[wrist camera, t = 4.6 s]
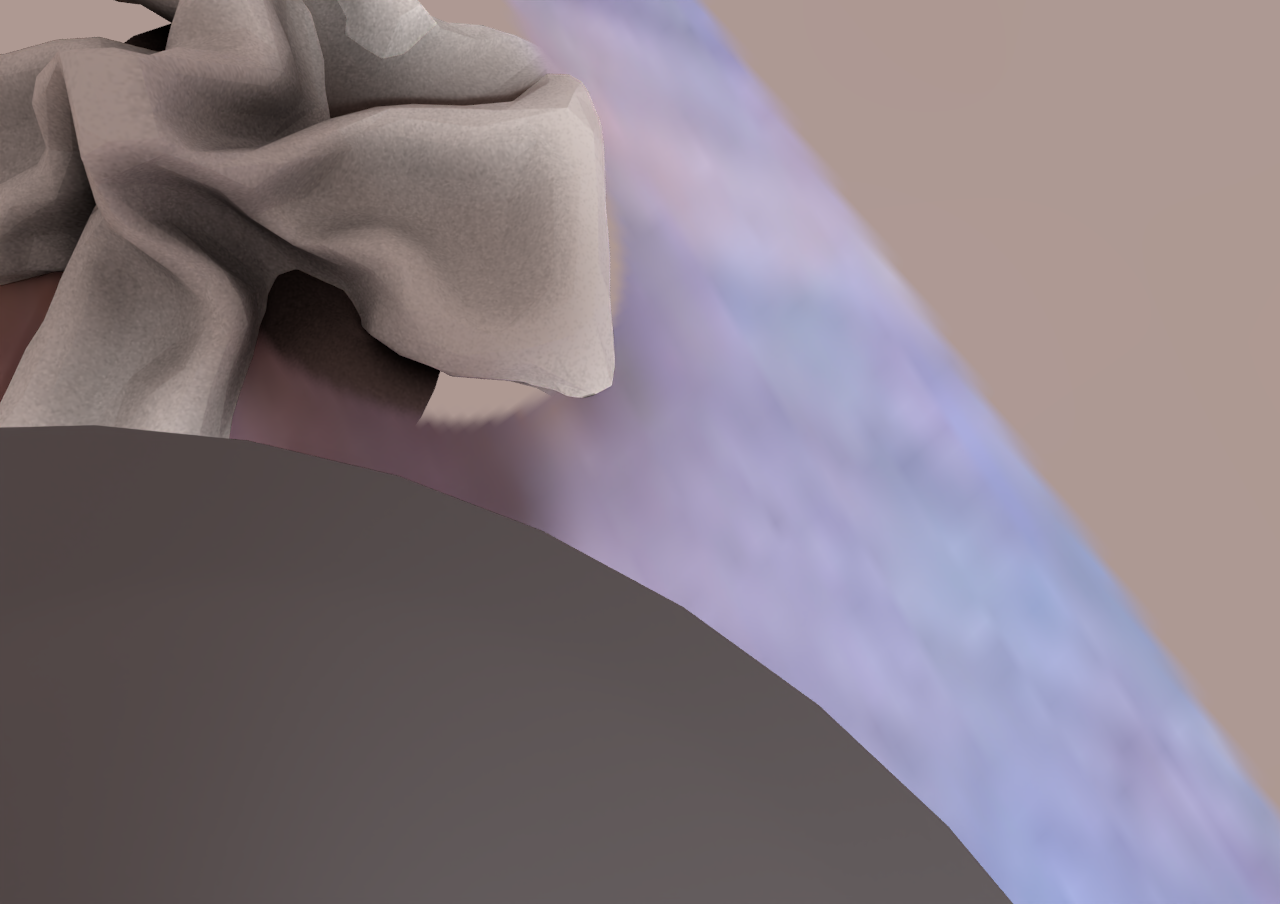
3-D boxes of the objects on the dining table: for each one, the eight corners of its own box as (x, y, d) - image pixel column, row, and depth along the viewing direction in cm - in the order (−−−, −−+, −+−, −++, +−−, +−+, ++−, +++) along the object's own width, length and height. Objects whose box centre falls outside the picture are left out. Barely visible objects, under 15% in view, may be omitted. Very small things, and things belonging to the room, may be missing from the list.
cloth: (762, 280, 25) (803, 145, 19) (128, 758, 22) (-62, 777, 16) (276, -263, 29) (185, -512, 23) (-310, 74, 26) (-588, -113, 20)
